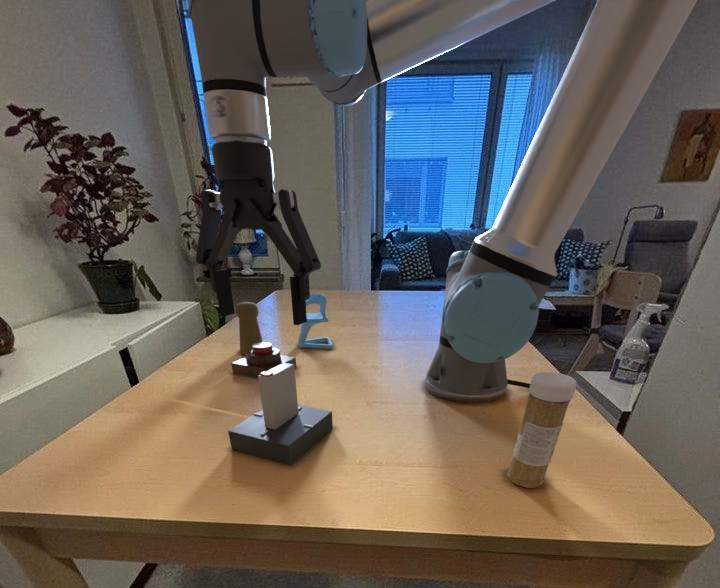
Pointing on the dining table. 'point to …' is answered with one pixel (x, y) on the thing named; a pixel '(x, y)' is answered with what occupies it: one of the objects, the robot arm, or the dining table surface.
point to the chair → (312, 320)
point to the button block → (260, 362)
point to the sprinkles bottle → (540, 427)
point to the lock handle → (278, 395)
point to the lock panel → (281, 435)
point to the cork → (248, 325)
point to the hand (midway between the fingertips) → (262, 319)
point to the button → (262, 348)
